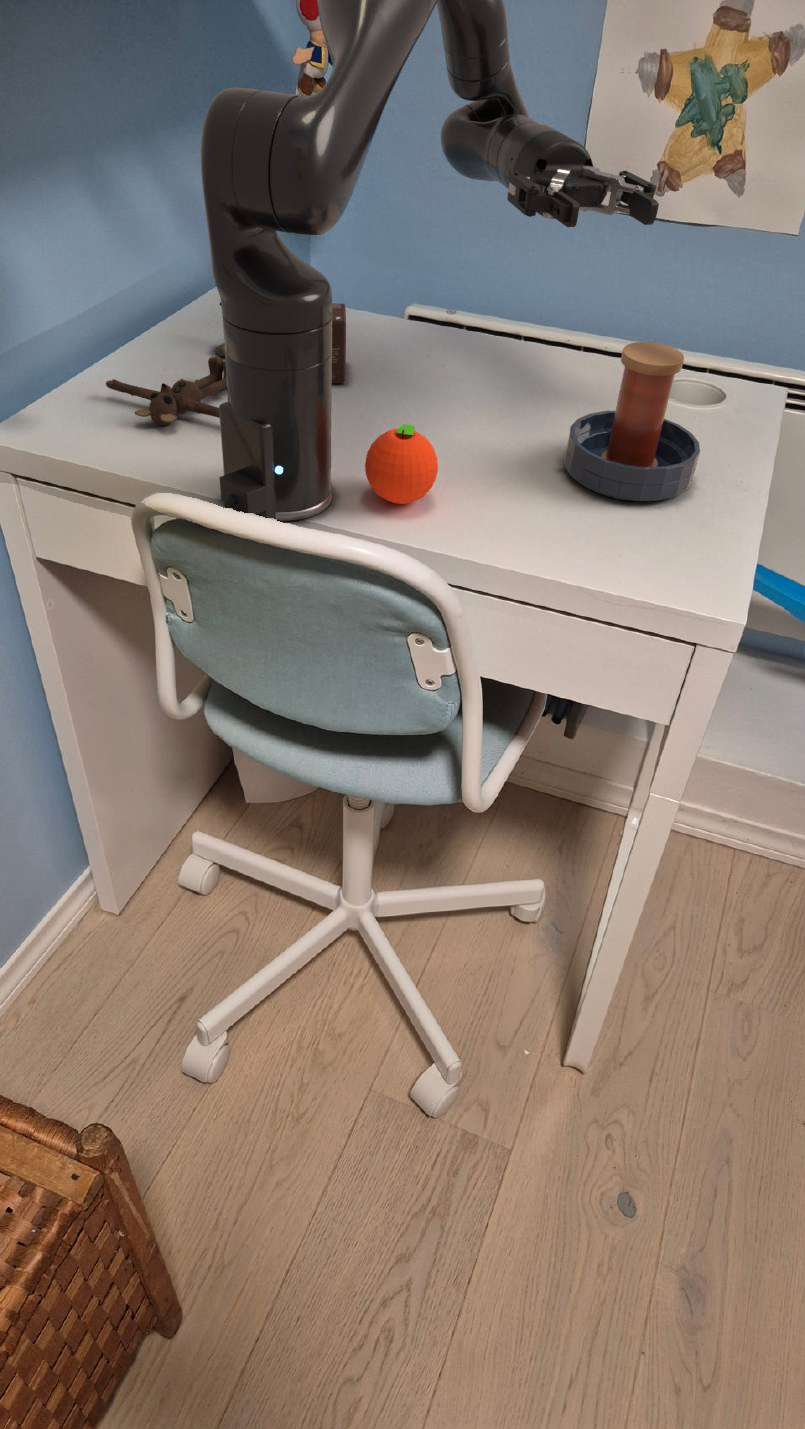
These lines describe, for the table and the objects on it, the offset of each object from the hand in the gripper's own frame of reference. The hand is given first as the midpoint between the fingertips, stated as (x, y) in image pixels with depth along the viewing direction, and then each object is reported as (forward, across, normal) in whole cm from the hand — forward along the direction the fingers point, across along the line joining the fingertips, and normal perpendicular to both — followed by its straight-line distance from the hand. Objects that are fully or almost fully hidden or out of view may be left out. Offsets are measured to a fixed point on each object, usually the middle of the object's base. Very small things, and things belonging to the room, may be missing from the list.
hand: (614, 215), depth 94 cm
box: (-20, -24, +23) cm, 38 cm away
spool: (+11, +1, +21) cm, 24 cm away
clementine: (+10, -24, +22) cm, 34 cm away
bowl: (+11, +1, +22) cm, 25 cm away
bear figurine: (-14, -40, +23) cm, 48 cm away
